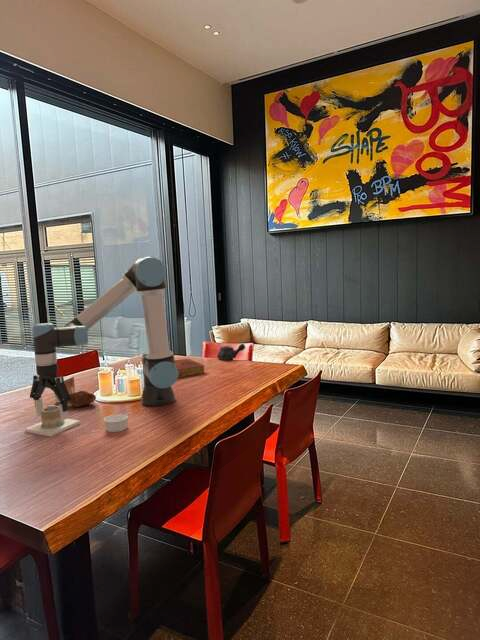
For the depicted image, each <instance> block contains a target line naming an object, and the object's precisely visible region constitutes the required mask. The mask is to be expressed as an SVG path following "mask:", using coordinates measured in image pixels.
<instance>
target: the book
mask: <svg viewBox="0 0 480 640" xmlns="http://www.w3.org/2000/svg"><path fill="white" fill-rule="evenodd" d="M174 361H175V366H176V367H177V369H178V378H179V379H180V378H184V377H188V376H195V375H200V374H201V375H202V374H205V368H204V367H205V365H204V364H202V363H200V362H197V361H196V360H193V359H191V358H181V359H177V360H175V359H174ZM178 378H177V379H178Z"/></svg>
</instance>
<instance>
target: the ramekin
mask: <svg viewBox="0 0 480 640" xmlns="http://www.w3.org/2000/svg"><path fill="white" fill-rule="evenodd" d="M128 420H129V415H127V414H122V413H118V414H111V415H107V416H106V417H104V418H103V422H104V427H105V431H107V432H109V433H120V432H123V431H125V430H126V429H127V428H128V422H129V421H128Z"/></svg>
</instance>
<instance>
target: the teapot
mask: <svg viewBox="0 0 480 640" xmlns="http://www.w3.org/2000/svg"><path fill="white" fill-rule="evenodd" d="M245 349H246V345H245V344H244V343H241V344H240V345H238V348H237V349H234V347H233V346H230V345H226V346H225V345H224V346H220V347H219V349H218V352H217V355H216V357H217V359H219V360H223V361H229V360H233V359H236V357H237V355H238V354H239V353H240V352H242V351H244V350H245Z"/></svg>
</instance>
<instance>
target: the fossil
mask: <svg viewBox="0 0 480 640" xmlns="http://www.w3.org/2000/svg"><path fill="white" fill-rule="evenodd" d="M69 395H70V397H71V401H69V402H67V404H69V405H70V406H72V407H74V408H75V407H77V408H78V407H80V408H81V407H86V406H88V405H89V404H92V403H94V402H95V401H96V399H97V395H95V394H94V393H90V392H88V391H85V390H82V389H80V390H79V391H75V393H73V394H69ZM67 399H68V398H67Z"/></svg>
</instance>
